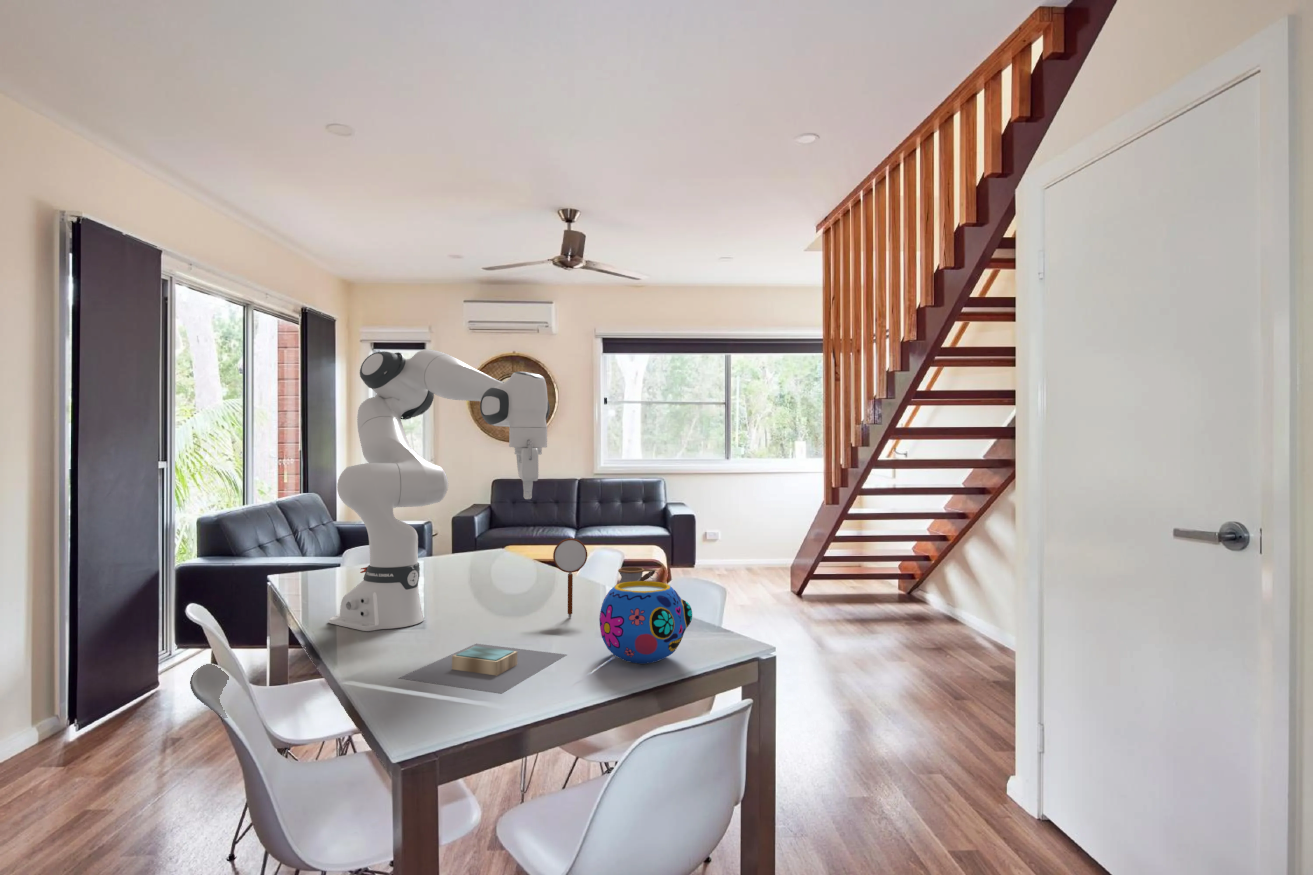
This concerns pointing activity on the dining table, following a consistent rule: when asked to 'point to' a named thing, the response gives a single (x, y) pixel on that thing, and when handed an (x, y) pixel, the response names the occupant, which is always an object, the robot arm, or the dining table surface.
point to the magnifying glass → (570, 562)
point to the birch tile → (484, 660)
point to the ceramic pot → (643, 621)
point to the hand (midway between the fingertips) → (527, 498)
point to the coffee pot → (634, 574)
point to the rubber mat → (445, 675)
